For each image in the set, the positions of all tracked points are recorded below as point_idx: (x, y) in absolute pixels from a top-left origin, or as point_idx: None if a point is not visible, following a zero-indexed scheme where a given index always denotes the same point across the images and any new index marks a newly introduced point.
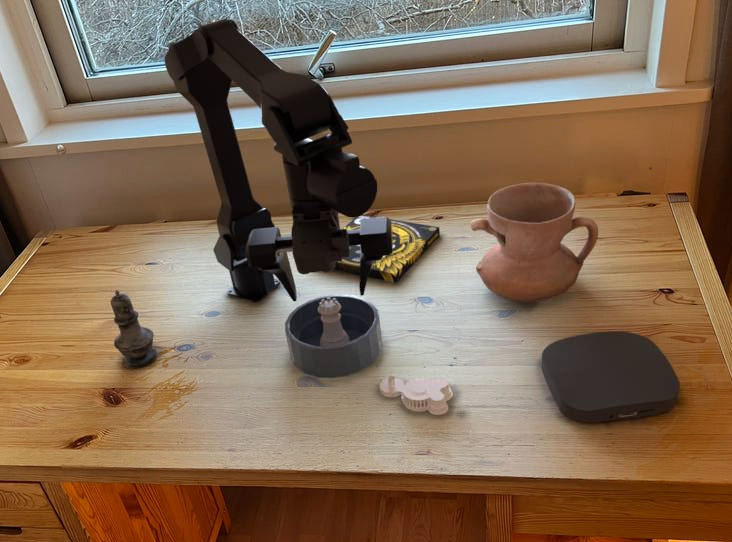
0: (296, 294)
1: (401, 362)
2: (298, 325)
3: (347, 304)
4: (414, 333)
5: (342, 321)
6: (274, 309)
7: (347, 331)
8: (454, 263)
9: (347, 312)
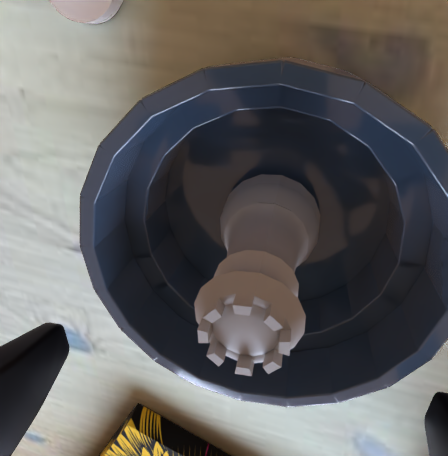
0: (428, 441)
1: (86, 125)
2: (388, 317)
3: None
4: (75, 239)
5: None
6: None
7: None
8: (43, 414)
9: None
